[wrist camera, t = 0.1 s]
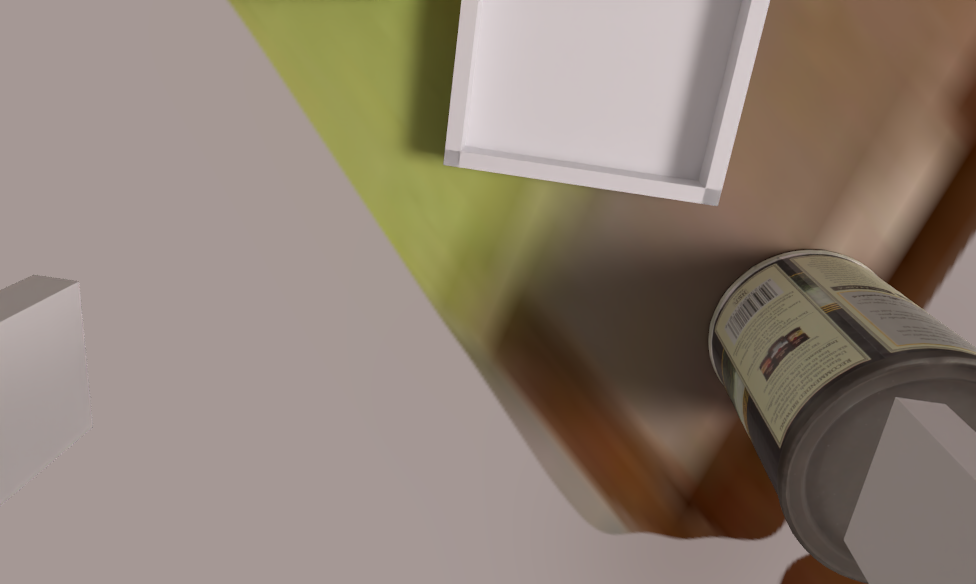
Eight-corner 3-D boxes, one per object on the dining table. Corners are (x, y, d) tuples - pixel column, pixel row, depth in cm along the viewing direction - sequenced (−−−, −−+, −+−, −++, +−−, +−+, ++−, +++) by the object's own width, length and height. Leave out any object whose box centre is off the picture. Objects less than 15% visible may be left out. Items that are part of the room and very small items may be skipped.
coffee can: (860, 429, 41) (1002, 612, 28) (687, 396, 42) (747, 562, 28) (926, 265, 38) (1126, 388, 24) (736, 231, 38) (832, 333, 25)
